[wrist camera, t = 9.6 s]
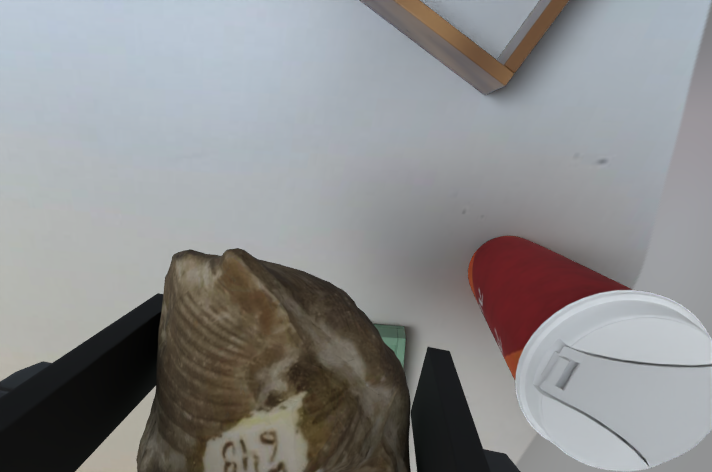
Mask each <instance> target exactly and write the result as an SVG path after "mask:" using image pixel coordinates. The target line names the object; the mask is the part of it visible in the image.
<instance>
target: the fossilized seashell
mask: <svg viewBox="0 0 712 472" xmlns="http://www.w3.org/2000/svg"><path fill="white" fill-rule="evenodd" d="M409 426H410V395H409V390H408V386H407V382H406V377H405V373H404V370H403V367H402V365H401V362H400V360H399V359H398V358H397V356H396V355H395V352H394V351H393V350H392V349H391V348H390V347H389V346H387V345H386V344H385V343H384V341H383V339H382V338H381V335H380V333H379V331H378V329H377V328H376V327H375V326H374V324H373V323H372V322H371V321H370V320H369V318H368V317H367V316H366V315H365V313H364V312H363V311H361V310H360V309H359V308H358V307H357V306H356V304H355V302H354V301H353V300H352V299H351V297H350V296H349V295H348V294H347V293H346V292H344V291H343V290H342V289H340V288H338V287H336V286H334V285H333V284H331V283H330V282H327V281H324V280H322V279H320V278H317V277H315V276H313V275H311V274H308V273H306V272H304V271H300V270H297V269H293V268H290V267H286V266H283V265H280V264H275V263H271V262H267V261H263V260H258V259H256V258H255V257H253V256H252V255H250V254H249V253H247V252H246V251H245V250H242V249H239V248H237V249H229V250H226V251H225V252H224V254H223V255H222V256H218V255H210V254H204V253H201V252H197V251H194V250H186V251H181V252H178V253H176V254H174V255H173V257H172V261H171V265H170V268H169V271H168V273H167V275H166V277H165V285H164V294H163V302H162V311H161V318H160V324H159V332H158V352H157V378H156V394H155V398H154V401H153V404H152V408H151V412H150V416H149V418H148V420H147V424H146V428H145V431H144V433H143V436H142V438H141V440H140V445H139V450H138V455H137V464H138V465H137V471H138V472H411V471H410V461H409Z"/></svg>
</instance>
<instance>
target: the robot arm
mask: <svg viewBox="0 0 712 472" xmlns="http://www.w3.org/2000/svg"><path fill="white" fill-rule="evenodd" d="M162 302H163V294H156V295H155V296H153V297H152V298H150V299H149V300H147V301H146V302H144V303H143V304H141V305H140V306H138V307H137V308H135V309H134V310H132V311H131V312H129V313H128V314H126V315H124V316H123V317H121V318H120V319H118V320H117V321H115V322H114V323H112V324H111V325H109V326H108V327H106V328H105V329H103V330H102V331H100V332H99V333H97V334H96V335H94V336H93V337H91V338H90V339H88V340H87V341H85V342H84V343H82V344H81V345H79V346H78V347H76V348H75V349H73V350H72V351H70V352H69V353H67V354H66V355H64V356H63V357H61V358H60V359H58V360H56V361H55V362H53V363H48V362H40V363H38V364H35V365H32V366H30V367H27V368H25V369H22V370H20V371H17V372H15V373H14V374H12V375H10V376H9V377H7V378H6V379H4V380H2V381H1V382H0V472H75V471H76V470H77V469H78V468H79V467H80V466H81V465H82V464H83V462H84V461H85V460H86V459H87V458H88V457H89V456H90V455H91V454H92V453H93V452H94V451H95V450H96V449H97V448H98V446H99V445H100V444H101V443H102V442H103V441H104V440H105V439H106V438H107V437H108V436H109V435H110V434H111V433H112V432H113V430H114V429H115V428H116V427H117V426H118V425H119V424H120V423H121V422H122V421H123V420H124V419H125V418H126V417H127V416H128V414H129V413H130V412H131V411H132V410H133V409H134V408H135V407H136V406H137V405H138V404H139V403H140V402H141V401H142V400H143V398H144V397H145V396H146V395H147V394H148V393H149V392H150V391H151V390H152V389H153V388H154V387H155V386H156V378H157V352H158V332H159V324H160V318H161V311H162ZM411 420H412V429H413V438H414V446H415V455H416V464H417V472H520V471H519V470H518V468H517V467H516V466H515V465H514V463H513V462H512V461H511V460H510V458H509V457H508V456H507V455H506V454H504V453H499V452H494V451H489V450H484V449H483V448H482V445H481V442H480V439H479V436H478V433H477V430H476V427H475V424H474V421H473V418H472V416H471V413H470V410H469V407H468V404H467V401H466V398H465V395H464V392H463V389H462V386H461V383H460V380H459V377H458V375H457V372H456V369H455V366H454V363H453V360H452V357H451V354H450V351H446V350H441V349H436V348H431V347H428V348H427V352H426V356H425V360H424V363H423V367H422V371H421V375H420V379H419V382H418V386H417V390H416V394H415V398H414V402H413V405H412V409H411Z"/></svg>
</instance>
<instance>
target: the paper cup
mask: <svg viewBox="0 0 712 472" xmlns="http://www.w3.org/2000/svg"><path fill="white" fill-rule="evenodd" d="M468 279H469V283H470V286H471V289H472V291H473V294H474V296H475V298H476V300H477V302H478V304H479V307H480V309H481V311H482V313H483V315H484V317H485V319H486V321H487V323H488V326H489V328H490V330H491V332H492V334H493V336H494V338H495V340H496V342H497V344H498V346H499V348H500V350H501V352H502V355H503V357H504V359H505V361H506V363H507V365H508V367H509V369H510V371H511V373H512V375H513V377H514V379H515V388H516V396H517V400H518V403H519V406H520V409H521V410H522V412H523V414H524V416H525V418H526V420H527V421H528V422H529V423H530V425H531V426H532V427H533V428H534V430H536V431H537V432H538V433H539V434H540V435H542V437H544V438H545V439H547V440H548V441H550V442H552V443H553V444H555V445H556V446H557V447H558V448H559V449H561V450H562V451H563V452H564V453H565V454H567V455H569V456H571V457H572V458H573V459H575V460H577V461H579V462H582V463H584V464H586V465H588V466H592V467H596V468H599V469H603V470H611V471H636V470H644V469H648V468H649V467H651V468H652V467H654V466H657V465H659V464H662V463H665V462H667V461H669V460H672V459H674V458H676V457H678V456H681V455H682V454H684V453H686V452H687V451H689V450H691V449H692V448H694V447H695V446H696V445H697V444H698V443H700V442H701V441H702V440H703V439H704V438H705V437H706V436H707V434H708V433H709V432H710V431H711V430H712V339H711V338H710V336H709V334H708V332H707V330H706V329H705V327H704V326H703V324H702V323H701V321H700V320H699V319H698V318H697V317H696V316H695V315H694V314H693V313H692V312H691V311H690V310H688V309H687V308H685V307H684V306H682V305H681V304H680V303H678V302H676V301H673V300H671V299H669V298H667V297H665V296H662V295H658V294H655V293H651V292H646V291H638V290H632V289H630V288H628V287H626V286H624V285H622V284H620V283H618V282H616V281H614V280H612V279H609V278H607V277H605V276H603V275H601V274H599V273H597V272H595V271H593V270H591V269H589V268H587V267H585V266H582V265H580V264H578V263H576V262H574V261H572V260H570V259H568V258H566V257H564V256H562V255H559V254H557V253H555V252H553V251H551V250H549V249H547V248H544V247H542V246H540V245H538V244H536V243H533V242H531V241H529V240H526V239H523V238H520V237H516V236H501V237H497V238H494V239H491V240H489V241H487V242H486V243H484V244H483V245H482V246H481V247H479V248H478V249H477V251H476V252H475V253H474V255H473V256H472V258H471V261H470V263H469V268H468ZM642 459H643V460H644V461H645V462H646V463H647V465H648V466H649V467H648V466H647V465H646V464H645V462H644V461H643V460H642Z"/></svg>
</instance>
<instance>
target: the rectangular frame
mask: <svg viewBox="0 0 712 472" xmlns="http://www.w3.org/2000/svg"><path fill="white" fill-rule="evenodd" d="M360 1H361V2H363V3H364V4H365V5H367V6H368V7H369V8H371V9H372V10H373V11H375V12H376V13H377V14H379V15H380V16H381V17H383V18H384V19H385V20H386V21H388V22H389V23H390V24H392V25H393V26H394V27H396V28H397V29H398V30H400V31H401V32H402V33H404V34H405V35H406V36H408V37H409V38H410V39H411V40H413V41H414V42H415V43H417V44H418V45H419V46H421V47H422V48H423V49H425V50H426V51H427V52H429V53H430V54H431V55H433V56H434V57H435V58H436V59H438V60H439V61H440V62H442V63H443V64H444V65H446V66H447V67H448V68H450V69H451V70H452V71H454V72H455V73H456V74H458V75H459V76H460V77H461V78H463V79H464V80H465V81H467V82H468V83H469V84H471V85H472V86H473V87H475V88H476V89H477V90H479V91H480V92H481V93H483V94H484V95H486V94H489V93H491V92H493V91H495V90H497V89H499V88H502V87H504V86H506V85H507V83H508V82H509V81H510V79H511V78H512V77H513V75H514V73H515V72H516V71H517V70H518V68H519V67H520V66H521V64H522V63H523V62H524V60H525V59H526V58H527V56H528V55H529V54H530V52H531V51H532V50H533V48H534V47H535V46H536V44H537V43H538V42H539V40H540V39H541V38H542V36H543V35H544V34H545V32H546V31H547V30H548V28H549V27H550V26H551V24H552V23H553V22H554V20H555V19H556V18H557V16H558V15H559V14H560V12H561V11H562V10H563V8H564V7H565V6H566V4H567V3H568V2H569V0H540V1H539V2H538V4H537V5H536V6H535V8H534V9H533V10H532V12H531V13H530V15H529V16H528V17H527V19H526V20H525V21H524V23H523V24H522V26H521V27H520V28H519V30H518V31H517V32H516V34H515V35H514V37H513V38H512V39H511V41H510V42H509V43H508V45H507V46H506V48H505V49H504V50H503V52H502V53H501V54H500V56H499V57H498V59H497V60H496V59H495V58H493V57H492V56H491V55H490V54H488V53H487V52H486V51H484V50H483V49H482V48H481V47H479V46H478V45H477V44H475V43H474V42H473V41H472V40H470V39H469V38H468V37H466V36H465V35H464V34H463V33H461V32H460V31H459V30H457V29H456V28H455V27H453V26H452V25H451V24H450V23H448V22H447V21H446V20H444V19H443V18H442V17H441V16H439V15H438V14H437V13H435V12H434V11H433V10H432V9H430V8H429V7H428V6H426V5H425V4H424V3H423V2H421V1H420V0H360Z"/></svg>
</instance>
